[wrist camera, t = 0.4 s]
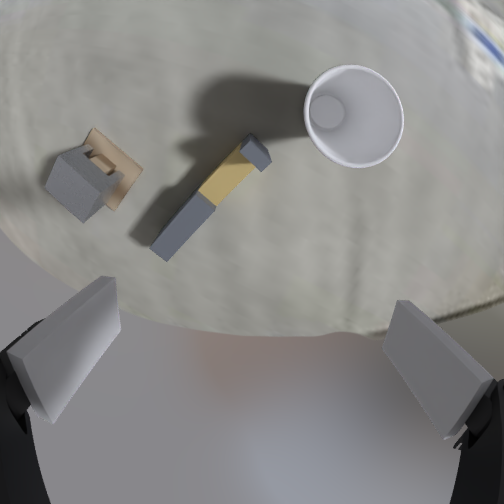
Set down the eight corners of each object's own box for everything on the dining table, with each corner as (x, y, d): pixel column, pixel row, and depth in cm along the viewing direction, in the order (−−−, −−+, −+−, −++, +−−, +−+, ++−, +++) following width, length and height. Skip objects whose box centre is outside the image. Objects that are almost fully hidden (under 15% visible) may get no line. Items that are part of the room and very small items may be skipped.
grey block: (88, 143, 29) (58, 155, 23) (125, 175, 32) (100, 192, 26) (73, 171, 31) (44, 187, 25) (108, 202, 34) (83, 223, 28)
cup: (289, 70, 27) (306, 55, 18) (365, 82, 27) (408, 78, 18) (285, 145, 32) (299, 162, 23) (358, 153, 32) (396, 174, 23)
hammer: (250, 133, 31) (250, 141, 25) (267, 149, 32) (271, 161, 26) (160, 231, 38) (142, 260, 31) (175, 243, 39) (160, 275, 33)
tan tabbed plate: (95, 127, 30) (75, 133, 26) (143, 169, 34) (129, 179, 29) (71, 170, 33) (52, 180, 29) (115, 209, 36) (100, 223, 32)
